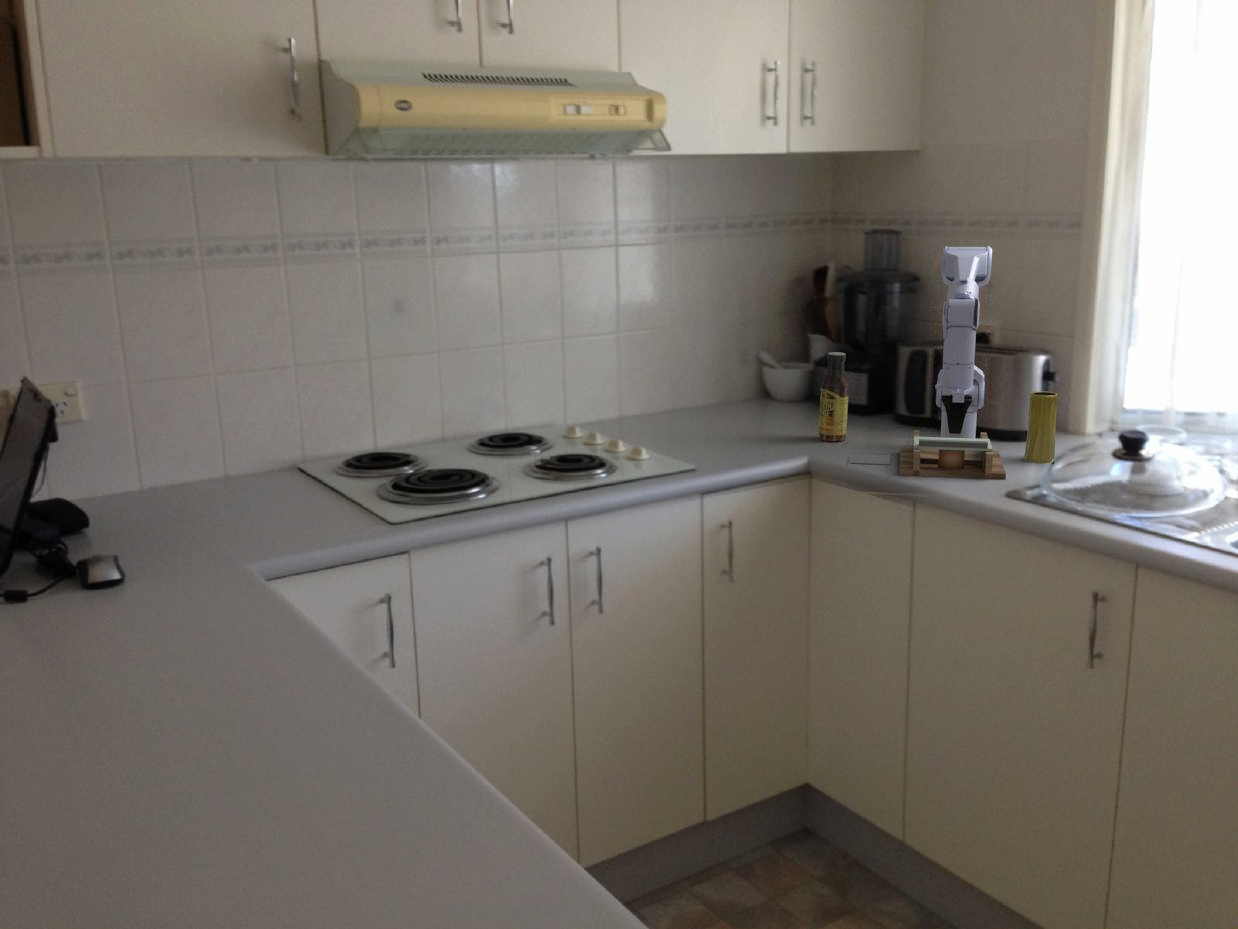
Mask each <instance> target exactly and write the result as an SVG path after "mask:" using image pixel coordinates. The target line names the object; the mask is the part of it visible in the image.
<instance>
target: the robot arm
mask: <svg viewBox="0 0 1238 929" xmlns="http://www.w3.org/2000/svg"><path fill="white" fill-rule="evenodd" d="M992 259H993V248H992V247H991V246H990V245H987V246H948V245H946V246H944V247H943V249H942V252H941V269H940V270H941V272H940V274H941V279H942V281H943V285H944V284H945V285H946V286H948V288H947V297H946V301H944V302H943V306H942V321H941V322H942V323H941V324H942V329H943V331H942V336H943V337H942V339H943V340H944V341H943V353H942V369H940V370H939V373H938V375H937V381H936V384H935V385H934V386H935V388H934V389H935V390H936V395H935V404H936V406H937V407H938V408H941V420H940V421H941V423H940V424H941V425H940V426H941V427H940V437H943V438H974V439H976V433H977V432H976V431H977V415H978V409H982V408H983V407H984V404H985V403H984V400H985V385H986V384H985V383H986V382H985V374H984V371H982V369H981V368H979V367H977V365H975V358H976V357H975V355H976V353H975V352H976V339H977V335H976V334H977V330H978V328H979V325H980V310H981V309H980V308H981V307H980V305H981V303H980V299H979V295H980V294H979V293H980V292H979V290H980V288H981V287H983V286H987V285H988V284H989V281H990V280H991V275H992V265H993V264H992V263H993V262H992ZM975 328H976V329H975Z"/></svg>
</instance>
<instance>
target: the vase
mask: <svg viewBox="0 0 1238 929" xmlns="http://www.w3.org/2000/svg"><path fill="white" fill-rule="evenodd" d="M1057 410H1058V393H1056V392H1053V391H1041V390H1040V391H1039V390H1038V391H1032V392H1030V394H1029V408H1028V419H1027V420H1028V421H1027V422H1028V423H1027V432H1026V433H1027V434H1026V443H1025V449H1024V455H1023V460H1024V461H1025V462H1028V463H1029V462H1030V463H1035V464H1051V463H1050V462H1051V461H1052V459H1054V458H1055V453H1056V452H1055V448H1056V447H1055V446H1056V431H1057V430H1056V429H1057Z"/></svg>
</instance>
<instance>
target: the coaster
mask: <svg viewBox="0 0 1238 929" xmlns="http://www.w3.org/2000/svg"><path fill="white" fill-rule="evenodd" d="M850 457H851V458H850V459H849V460H850V461H849V464H850V465H871V466H873V465H874V466H890V465H891V455H890V454H864V453H863V454H861V453H851V456H850Z"/></svg>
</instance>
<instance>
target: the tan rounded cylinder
mask: <svg viewBox="0 0 1238 929" xmlns="http://www.w3.org/2000/svg"><path fill="white" fill-rule="evenodd" d="M964 456H965V450H939V458H938V468H948V469H964Z"/></svg>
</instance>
